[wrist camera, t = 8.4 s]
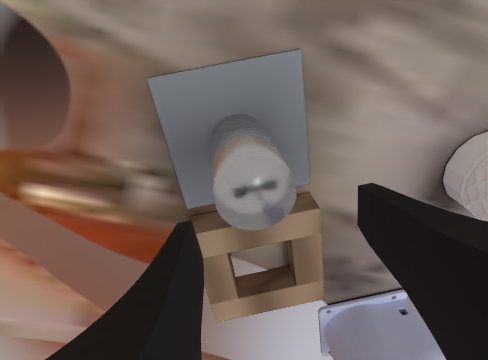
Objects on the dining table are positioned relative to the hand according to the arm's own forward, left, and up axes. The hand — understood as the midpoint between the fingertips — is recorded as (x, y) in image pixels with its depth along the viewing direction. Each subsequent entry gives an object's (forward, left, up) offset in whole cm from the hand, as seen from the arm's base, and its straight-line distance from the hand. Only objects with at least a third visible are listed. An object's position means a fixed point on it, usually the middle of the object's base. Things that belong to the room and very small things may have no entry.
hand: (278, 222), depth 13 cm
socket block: (+1, +10, -10) cm, 15 cm away
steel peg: (+1, 0, -10) cm, 10 cm away
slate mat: (+1, -1, -10) cm, 10 cm away
